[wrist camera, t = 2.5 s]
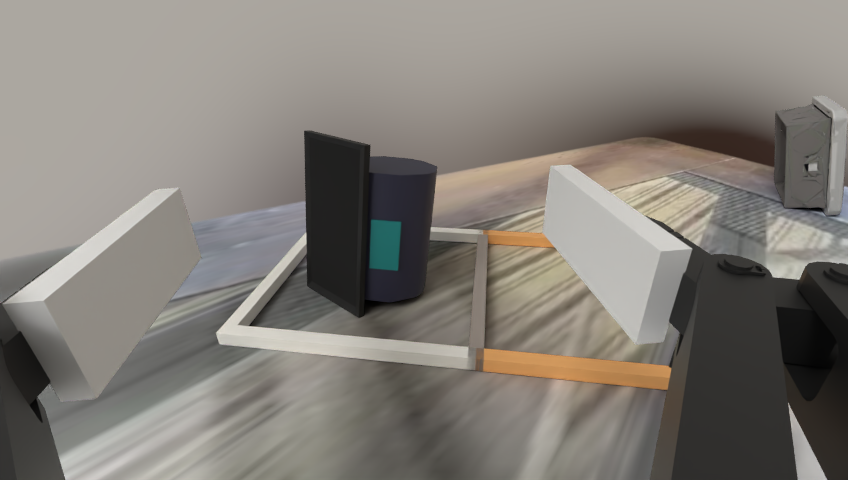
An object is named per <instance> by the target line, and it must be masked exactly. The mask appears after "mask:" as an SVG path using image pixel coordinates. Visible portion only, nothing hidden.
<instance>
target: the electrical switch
mask: <svg viewBox="0 0 848 480" xmlns="http://www.w3.org/2000/svg"><path fill="white" fill-rule="evenodd" d="M847 126H848V115H847V110H846V109H844V108H843V107H841V106H840V105H838V104H837V103H835V102H834V101H832V100H831V99H829V98H828V97H826V96H816V97H812V104H811V105H809V106H806V107H798V108H794V109H789V110H782V111H776V114H775V170H774V183H777V184H775V186H776V188H777V190H778V193H779V195H780V198H781V200H782V202H783V205H784V208H798V207H804V208H814V207H820V208H822V210H823V211H824V213H825V215H826V216H828V215H839V214H840V212H841V208H842V200H843V191H844V175H845V162H846V146H847ZM781 130H782V131H781Z"/></svg>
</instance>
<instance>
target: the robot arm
mask: <svg viewBox="0 0 848 480" xmlns="http://www.w3.org/2000/svg"><path fill="white" fill-rule="evenodd" d="M542 233H543V234H544V235H545V236H546V238H547V239H548V240H549V241H550V242H551V244H552V245H553V246H554V247H555V248H556V250H557V251H558V252H559V253H560V254H561V256H562V257H563V258H564V259H565V260H566V262H567V263H568V264H569V265H570V266H571V268H572V269H573V270H574V271H575V272H576V274H577V275H578V276H579V277H580V278H581V280H582V281H583V282H584V283H585V284H586V286H587V287H588V288H589V289H590V290H591V292H592V293H593V294H594V295H595V296H596V298H597V299H598V300H599V301H600V302H601V304H602V305H603V306H604V307H605V308H606V310H607V311H608V312H609V313H610V314H611V316H612V317H613V318H614V319H615V320H616V322H617V323H618V324H619V325H620V326H621V328H622V329H623V330H624V331H625V332H626V334H627V335H628V336H629V337H630V338H631V340H632V341H633V342H634V343H635V344H636V345H638V344H648V343H658V342H664V339H665V336H666V333H667V330H668V326H669V323H671V324H672V325H673V326H674V327H675V328H676V329H677V330H678V331H679V332H680V334H679V337H678V341H677V344H676V347H675V350H674V353H673V356H672V359H671V362H670V365H669V367H670V368H672V369H671V374H670V379H669V384H668V389H667V394H666V399H665V404H664V410H663V415H662V420H661V425H660V430H659V435H658V440H657V445H656V451H655V456H654V461H653V466H652V471H651V476H650V480H797V472H796V464H795V455H794V447H793V439H792V431H791V423H790V415H789V407H788V403H789V405H790V407H791V409H792V411H793V413H794V415H795V417H796V419H797V421H798V423H799V424H800V426H801V428H802V430H803V432H804V434H805V436H806V438H807V440H808V442H809V444H810V446H811V448H812V450H813V452H814V454H815V456H816V458H817V460H818V462H819V464H820V466H821V468H822V470H823V472H824V474H825V476H826V478H827V480H848V265H847V264H843V263H839V264H836V263H831V262H813V263H809V264H808V265H807V266H806V267H805V269H804V271H803V273H802V275H801V278H800V280H795V279H784V278H773V277H772V275H771V273H770V271H769V270H768V269H767V268H765V267H764V266H762V265H761V264H759V263H756V262H754V261H752V260H750V259H746V258H743V257H739V256H734V255H727V254H714V255H710V254H709V253H707V252H706V251H704V250H703V249H701V248H700V247H698V246H697V245H695V244H694V243H692V242H691V241H689V240H688V239H686V238H683V236H682V235H680V234H679V233H677V232H674V230H673V229H671V228H670V227H668V226H667V225H665V224H664V223H662V222H660V221H657V220H655V219H652V218H650V217H647V216H644V215H643V214H641V213H640V212H638V211H637V210H635V209H634V208H632V207H631V206H630V205H628V204H627V203H625V202H624V201H622V200H621V199H619V198H618V197H617V196H615V195H614V194H612V193H611V192H609V191H608V190H606V189H605V188H603V187H602V186H601V185H599V184H598V183H596V182H595V181H593V180H592V179H590V178H589V177H587V176H586V175H585V174H583V173H582V172H580V171H579V170H577V169H576V168H574V167H573V166H572V165H555V166H550V172H549V181H548V189H547V198H546V206H545V215H544V223H543V232H542ZM201 258H202V257H201V254H200V251H199V248H198V245H197V241H196V238H195V235H194V232H193V229H192V225H191V222H190V219H189V216H188V213H187V210H186V206H185V203H184V200H183V197H182V194H181V190H180V188H169V189H156V190H155V191H153V192H152V193H151V194H149V195H148V196H147V197H145V198H144V199H142V200H141V201H140V202H138V203H137V204H136V205H134V206H133V207H132V208H130V209H129V210H128V211H126V212H125V213H124V214H122V215H121V216H120V217H118V218H117V219H116V220H114V221H113V222H112V223H110V224H109V225H108V226H106V227H105V228H104V229H102V230H101V231H100V232H98V233H97V234H96V235H94V236H93V237H92V238H90V239H89V240H87V241H86V242H85V243H83V244H82V245H81V246H79V247H78V248H77V249H75V250H74V251H73V252H71V253H70V254H69V255H67V256H66V257H65V258H63V259H62V260H61V261H59V262H58V263H56V264H55V265H54V266H52V267H50V268H48V269H46V270H45V271H44V272H42V273H41V274H40V275H38V276H37V277H36V278H34V279H33V280H32V282H29V283H28V284H26V285H25V286H23V287H22V288H21V289H20V291H19V292H15V293H14V294H13V295H11V296H10V297H9V298H7V299H6V300H5V301H3V302H2V303H0V480H65V477H64V474H63V470H62V467H61V463H60V460H59V457H58V453H57V450H56V446H55V443H54V439H53V436H52V432H51V429H50V425H49V422H48V418H47V415H46V411H45V408H44V407H43V405H42V404H41V402H40V400H39V399H38V397H37V396H38V395H39V394H40V393H41V392H42V391H43V390H44V389H45V388H46V386H47V385H48V384H49V383H50V384H51V386H52V388H53V389H54V391H55V393H56V394H57V396H58V398H59V399H60V401H61V402H69V401H79V400H89V399H97V398H98V396H99V395H100V394H101V392H102V391H103V389H104V388H105V387H106V385H107V384H108V383H109V381H110V380H111V379H112V377H113V376H114V375H115V373H116V372H117V371H118V369H119V368H120V367H121V365H122V364H123V363H124V361H125V360H126V359H127V357H128V356H129V355H130V353H131V352H132V351H133V349H134V348H135V347H136V345H137V344H138V343H139V341H140V340H141V338H142V337H143V336H144V334H145V333H146V332H147V330H148V329H149V328H150V326H151V325H152V324H153V322H154V321H155V320H156V318H157V317H158V316H159V314H160V313H161V312H162V310H163V309H164V308H165V306H166V305H167V304H168V302H169V301H170V300H171V298H172V297H173V296H174V294H175V293H176V291H177V290H178V289H179V287H180V286H181V285H182V283H183V282H184V281H185V279H186V278H187V277H188V275H189V274H190V273H191V271H192V270H193V269H194V267H195V266H196V265H197V263H198V262H199V261H200V259H201Z"/></svg>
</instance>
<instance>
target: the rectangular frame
mask: <svg viewBox="0 0 848 480" xmlns="http://www.w3.org/2000/svg"><path fill="white" fill-rule="evenodd" d="M430 240H435V241H452V242H469V243H477V251H476V263H475V275H474V287H473V300H472V312H471V324H470V336H469V347H464V346H453V345H442V344H432V343H421V342H411V341H400V340H390V339H379V338H369V337H358V336H347V335H337V334H326V333H316V332H305V331H295V330H284V329H274V328H263V327H253V326H249V325H250V324H251V322H252V321H253V320H254V319H255V317H256V316H257V315H258V314H259V312H260V311H261V310H262V309H263V307H264V306H265V305H266V304H267V303H268V301H269V300H270V299H271V298H272V296H273V295H274V294H275V293H276V291H277V290H278V289H279V288H280V286H281V285H282V284H283V283H284V281H285V280H286V279H287V278H288V277H289V275H290V274H291V273H292V272H293V270H294V269H295V268H296V267H297V265H298V264H299V263H300V262H301V260H302V259H303V258H304V257H305V255H306V254H307V240H306V233H305V234H304V235H303V236H302V237H301V238H300V240H299V241H298V242H297V243H296V244H295V245H294V246H293V247H292V248H291V250H290V251H289V252H288V253H287V254H286V255H285V256H284V257H283V259H282V260H281V261H280V262H279V263H278V264H277V265H276V266H275V268H274V269H273V270H272V271H271V272H270V273H269V274H268V275H267V277H266V278H265V279H264V280H263V281H262V282H261V283H260V284H259V285H258V287H257V288H256V289H255V290H254V291H253V292H252V293H251V294H250V296H249V297H248V298H247V299H246V300H245V301H244V302H243V303H242V305H241V306H240V307H239V308H238V309H237V310H236V311H235V312H234V313H233V315H232V316H231V317H230V318H229V319H228V320H227V321H226V322H225V324H224V325H223V326H222V327H221V328H220V329H219V330H218V331H217V333H216V335H217V338H218V341H219V344H222V345H231V346H241V347H251V348H261V349H270V350H280V351H290V352H300V353H309V354H319V355H329V356H339V357H348V358H358V359H368V360H378V361H388V362H397V363H407V364H417V365H427V366H436V367H446V368H456V369H466V370H475V371H485V372H495V373H505V374H514V375H524V376H534V377H544V378H554V379H563V380H573V381H583V382H593V383H602V384H612V385H622V386H632V387H641V388H651V389H661V390H667V389H668V384H669V379H670V374H671V369H672V368H670V367H669V366H664V365H654V364H643V363H632V362H622V361H611V360H601V359H590V358H580V357H569V356H559V355H548V354H537V353H527V352H516V351H506V350H495V349H485V348H484V338H485V309H486V279H487V250H488V244H502V245H519V246H536V247H552V248H555V247H554V246H553V245H552V244H551V242H550V241H549V240H548V239H547V238H546V236H545V235H544V234H543V233H529V232H511V231H493V230H475V229H457V228H439V227H431V231H430Z"/></svg>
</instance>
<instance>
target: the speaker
mask: <svg viewBox="0 0 848 480" xmlns="http://www.w3.org/2000/svg"><path fill="white" fill-rule="evenodd" d="M304 137H305V138H304V139H305V184H306V185H305V188H306V189H305V190H306V240H307V286H308V287H310V288H311V289H313V290H315V291H316V292H318V293H320V294H321V295H323V296H325V297H326V298H328V299H329V300H331V301H333V302H334V303H336V304H338V305H339V306H341V307H342V308H344V309H346V310H347V311H349V312H351V313H352V314H354V315H356V316H357V317H361V316H363V315H364V301H365V300H373V301H382V302H390V303H391V302H395V301H400V300H405V299H409V298H414V297H417V296H418V295H419V294H421V293H422V292H423V290H424V285H425V279H426V270H427V260H428V251H429V241H430V231H431V222H432V212H433V203H434V193H435V183H436V174H437V166H434V165H432V164H429V163H426V162H424V161H419V160H414V159H406V158H396V157H386V156H383V157H382V156H381V157H370V145H368V144H364V143H359V142H355V141H351V140H347V139H343V138H339V137H335V136H330V135H326V134H322V133H318V132H314V131H304Z"/></svg>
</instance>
